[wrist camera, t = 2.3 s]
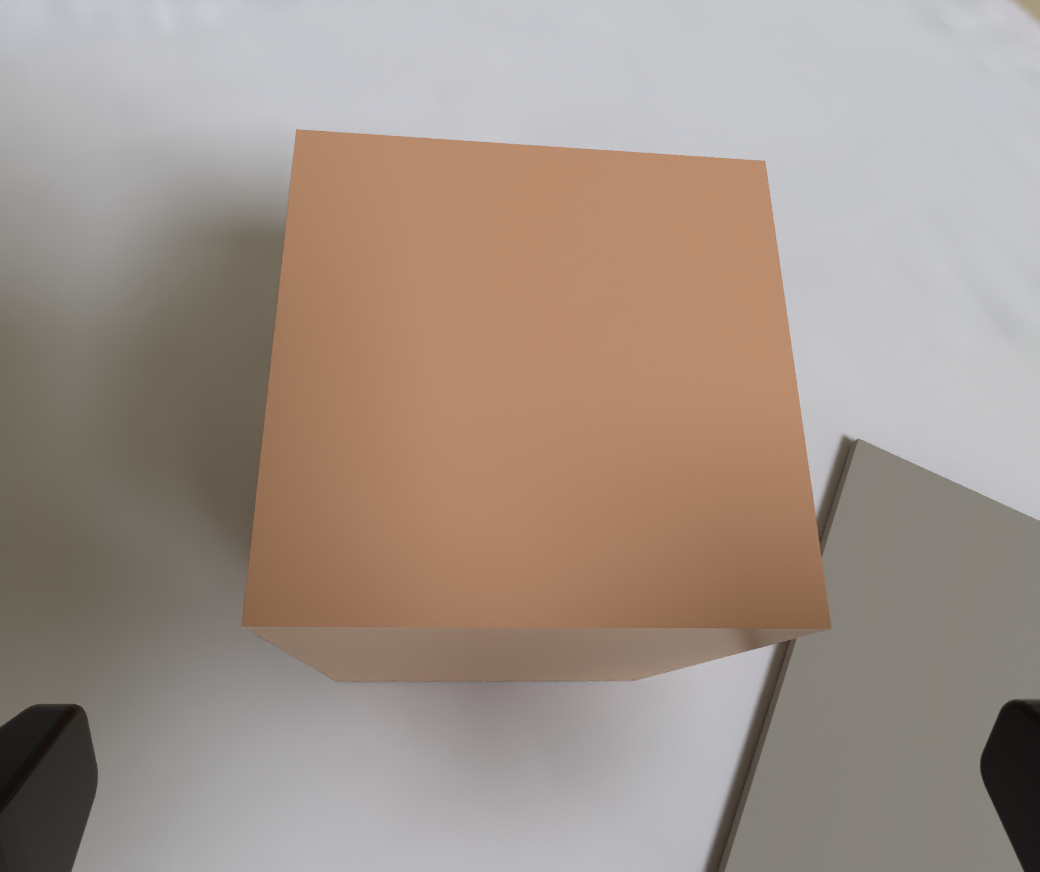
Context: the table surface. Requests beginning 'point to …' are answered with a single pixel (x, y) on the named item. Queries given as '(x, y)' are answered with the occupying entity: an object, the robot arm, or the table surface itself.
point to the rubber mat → (897, 684)
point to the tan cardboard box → (529, 417)
